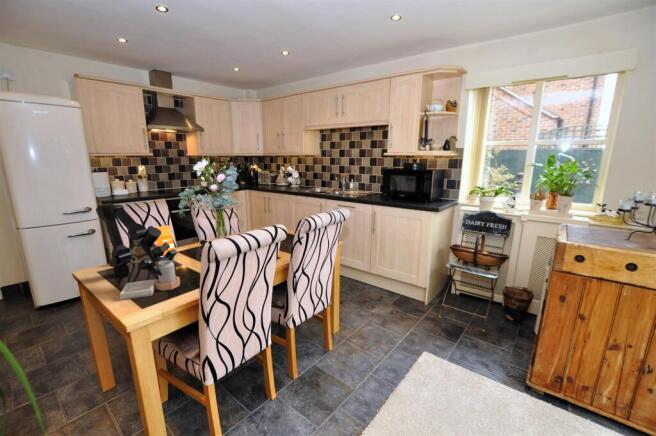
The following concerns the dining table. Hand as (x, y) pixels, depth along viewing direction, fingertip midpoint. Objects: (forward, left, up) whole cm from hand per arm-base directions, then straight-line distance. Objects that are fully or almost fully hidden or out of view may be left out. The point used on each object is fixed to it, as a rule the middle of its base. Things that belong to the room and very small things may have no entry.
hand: (168, 272), depth 151 cm
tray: (-13, -2, -7) cm, 15 cm away
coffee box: (-21, +47, -7) cm, 52 cm away
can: (-1, +1, -7) cm, 7 cm away
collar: (-1, +1, -7) cm, 7 cm away
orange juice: (-8, +50, -7) cm, 51 cm away
